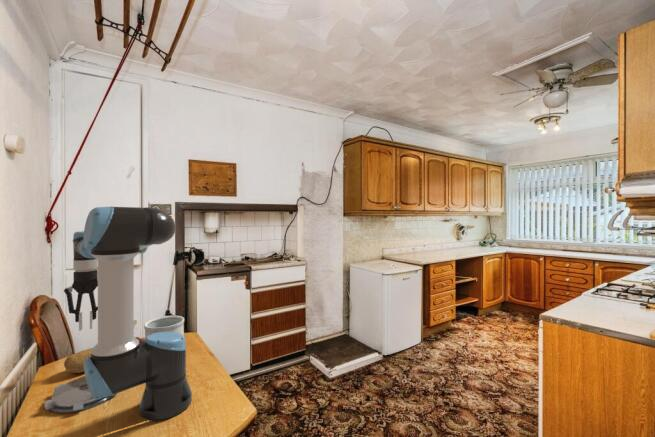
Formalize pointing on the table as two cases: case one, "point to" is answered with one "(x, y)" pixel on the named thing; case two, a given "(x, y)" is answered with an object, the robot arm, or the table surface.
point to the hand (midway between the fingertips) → (86, 328)
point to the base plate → (64, 411)
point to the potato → (77, 361)
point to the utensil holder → (165, 325)
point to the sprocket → (71, 395)
